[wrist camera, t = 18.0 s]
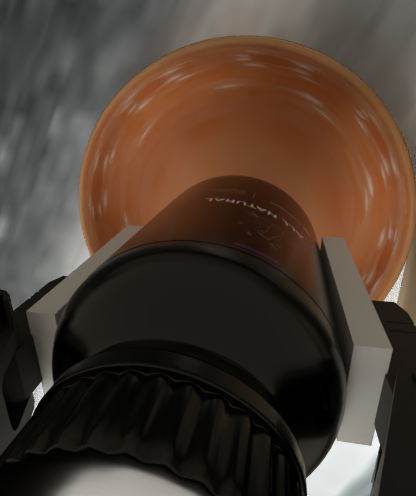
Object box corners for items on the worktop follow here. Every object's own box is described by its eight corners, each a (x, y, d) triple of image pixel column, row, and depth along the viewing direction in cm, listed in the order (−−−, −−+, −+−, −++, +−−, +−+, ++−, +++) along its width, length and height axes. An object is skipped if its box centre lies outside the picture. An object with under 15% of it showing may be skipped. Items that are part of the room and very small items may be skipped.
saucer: (48, 162, 21) (13, 172, 18) (301, -41, 16) (305, -69, 13) (201, 367, 25) (191, 401, 22) (451, 262, 19) (479, 290, 16)
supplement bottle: (299, 151, 14) (372, 346, 3) (329, 306, 16) (432, 742, 5) (136, 192, 16) (-186, 407, 5) (183, 326, 18) (33, 684, 7)
